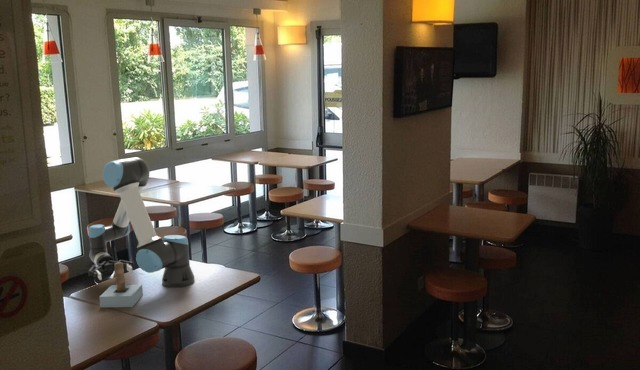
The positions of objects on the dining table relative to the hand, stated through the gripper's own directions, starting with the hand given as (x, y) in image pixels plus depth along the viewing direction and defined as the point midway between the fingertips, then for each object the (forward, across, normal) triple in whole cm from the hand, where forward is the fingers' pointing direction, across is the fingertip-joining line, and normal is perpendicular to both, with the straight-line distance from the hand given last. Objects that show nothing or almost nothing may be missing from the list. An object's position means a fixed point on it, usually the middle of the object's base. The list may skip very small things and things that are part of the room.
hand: (116, 273), depth 257 cm
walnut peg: (+4, 0, -11) cm, 12 cm away
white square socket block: (+4, 0, -12) cm, 12 cm away
